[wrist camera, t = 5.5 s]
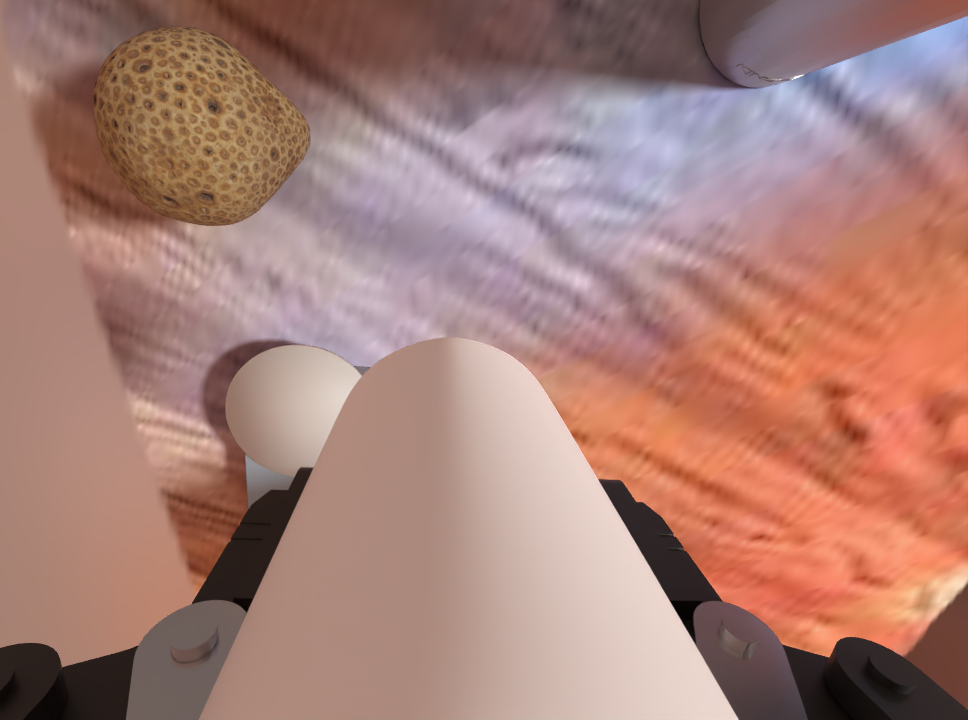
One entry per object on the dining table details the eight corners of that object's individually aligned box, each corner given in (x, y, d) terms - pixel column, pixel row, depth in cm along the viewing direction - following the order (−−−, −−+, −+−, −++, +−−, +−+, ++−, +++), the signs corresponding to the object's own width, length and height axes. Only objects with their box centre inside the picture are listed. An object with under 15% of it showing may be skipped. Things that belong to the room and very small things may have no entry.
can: (537, 312, 13) (1218, 1037, 2) (563, 499, 15) (941, 1364, 4) (311, 358, 13) (-652, 1558, 1) (371, 541, 15) (174, 1594, 4)
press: (234, 331, 32) (-159, 578, 10) (529, 352, 35) (686, 580, 13) (247, 545, 37) (4, 991, 16) (501, 548, 40) (580, 929, 19)
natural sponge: (128, 127, 27) (-33, 84, 18) (236, 24, 26) (127, -79, 17) (245, 249, 30) (161, 268, 21) (347, 161, 29) (307, 138, 20)
